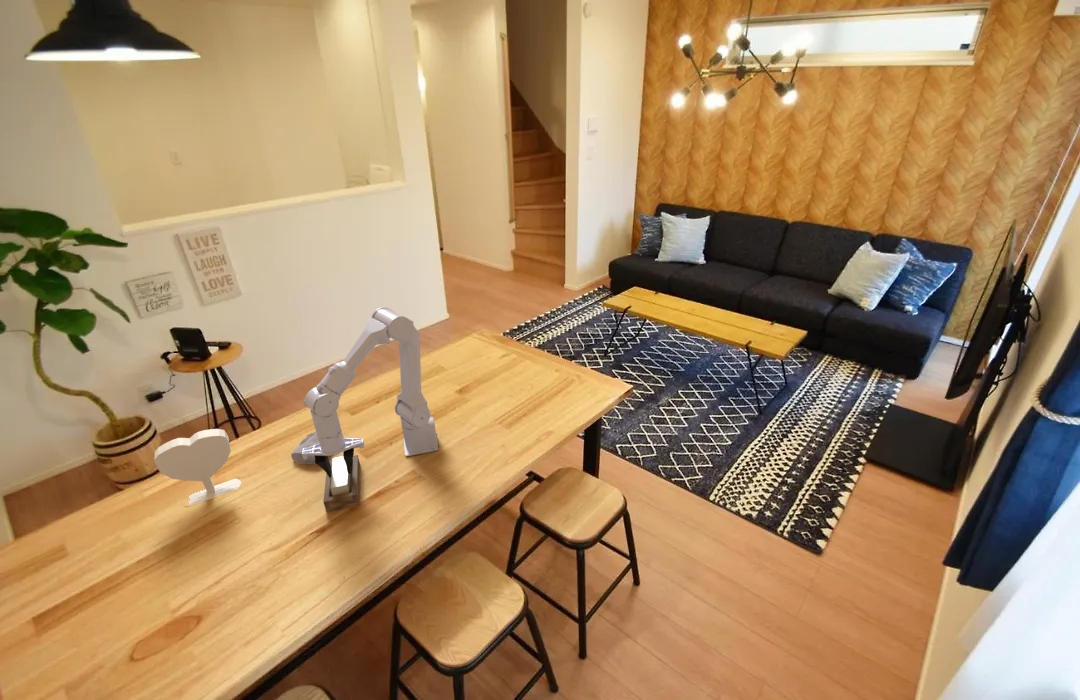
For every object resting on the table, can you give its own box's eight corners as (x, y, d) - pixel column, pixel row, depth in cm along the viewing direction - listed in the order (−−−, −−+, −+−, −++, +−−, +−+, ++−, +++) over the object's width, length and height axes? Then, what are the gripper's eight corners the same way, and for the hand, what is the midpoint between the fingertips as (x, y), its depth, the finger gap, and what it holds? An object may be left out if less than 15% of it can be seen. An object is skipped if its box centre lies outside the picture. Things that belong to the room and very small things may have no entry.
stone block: (291, 468, 140) (321, 466, 138) (284, 455, 138) (315, 452, 136) (315, 443, 151) (343, 441, 148) (308, 430, 149) (337, 428, 146)
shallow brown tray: (360, 464, 138) (357, 454, 137) (359, 504, 125) (356, 494, 123) (330, 470, 136) (327, 460, 134) (326, 512, 123) (323, 502, 121)
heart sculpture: (244, 475, 135) (223, 422, 127) (246, 485, 131) (224, 432, 123) (177, 499, 127) (150, 444, 119) (177, 511, 124) (149, 456, 115)
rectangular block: (351, 467, 136) (348, 454, 134) (350, 497, 126) (347, 484, 123) (336, 470, 135) (333, 458, 133) (334, 501, 125) (330, 488, 122)
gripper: (359, 417, 127) (369, 457, 133) (299, 428, 123) (312, 469, 130) (359, 433, 121) (369, 474, 127) (296, 444, 117) (309, 487, 124)
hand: (340, 473), depth 128 cm, fingers closed on rectangular block, 4 cm apart
